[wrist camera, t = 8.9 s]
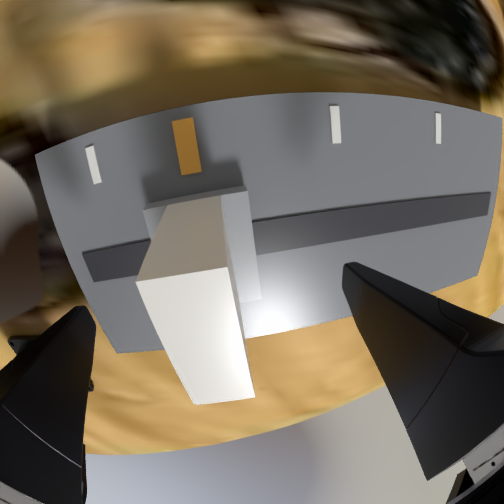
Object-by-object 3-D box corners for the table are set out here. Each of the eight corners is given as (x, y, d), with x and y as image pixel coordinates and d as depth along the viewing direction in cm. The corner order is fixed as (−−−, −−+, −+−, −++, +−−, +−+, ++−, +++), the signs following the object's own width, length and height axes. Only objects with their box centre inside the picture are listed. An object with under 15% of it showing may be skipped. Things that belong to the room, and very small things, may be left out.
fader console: (123, 331, 16) (116, 354, 15) (55, 147, 11) (33, 155, 9) (462, 262, 18) (478, 276, 16) (481, 113, 12) (503, 118, 10)
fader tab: (176, 302, 13) (165, 406, 8) (146, 203, 11) (96, 287, 5) (259, 288, 13) (285, 391, 8) (245, 185, 11) (276, 258, 6)
